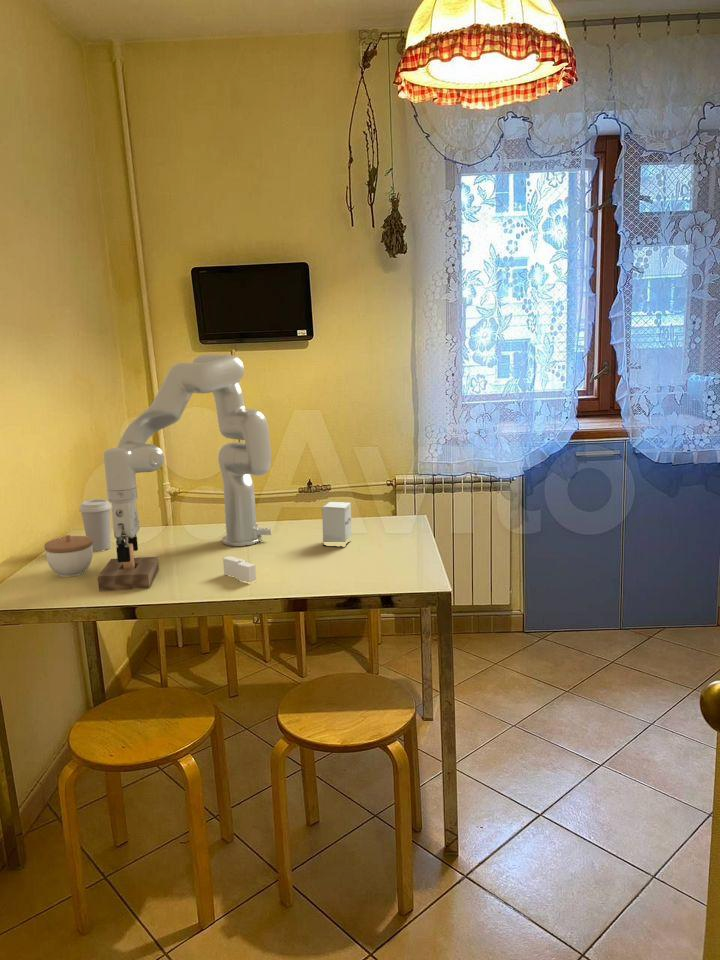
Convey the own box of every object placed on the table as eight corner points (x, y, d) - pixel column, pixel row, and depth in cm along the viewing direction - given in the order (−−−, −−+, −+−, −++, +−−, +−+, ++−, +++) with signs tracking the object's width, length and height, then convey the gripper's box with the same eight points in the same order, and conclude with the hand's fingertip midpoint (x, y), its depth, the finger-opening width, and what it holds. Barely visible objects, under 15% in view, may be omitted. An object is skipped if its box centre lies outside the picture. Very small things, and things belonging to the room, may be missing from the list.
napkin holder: (217, 574, 209) (215, 554, 208) (258, 570, 212) (256, 551, 210) (219, 592, 195) (217, 571, 194) (263, 588, 197) (262, 567, 196)
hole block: (159, 570, 212) (158, 556, 212) (149, 588, 198) (148, 573, 197) (112, 572, 211) (111, 558, 211) (98, 591, 197) (97, 576, 196)
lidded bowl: (50, 583, 204) (46, 544, 201) (45, 570, 214) (41, 533, 212) (99, 575, 209) (95, 537, 207) (91, 563, 220) (87, 526, 218)
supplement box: (345, 548, 229) (344, 507, 226) (322, 546, 231) (321, 506, 228) (352, 541, 236) (351, 502, 233) (330, 539, 238) (328, 501, 235)
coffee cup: (120, 543, 239) (115, 498, 236) (109, 553, 230) (104, 505, 227) (90, 544, 239) (85, 498, 236) (78, 553, 230) (73, 506, 227)
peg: (137, 578, 206) (133, 543, 204) (134, 581, 203) (131, 546, 201) (125, 578, 206) (122, 543, 204) (123, 582, 203) (120, 546, 201)
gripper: (129, 501, 191) (135, 565, 195) (143, 486, 208) (148, 546, 212) (99, 502, 191) (106, 567, 194) (115, 488, 208) (121, 547, 211)
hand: (128, 556), depth 203 cm, fingers open, 9 cm apart
